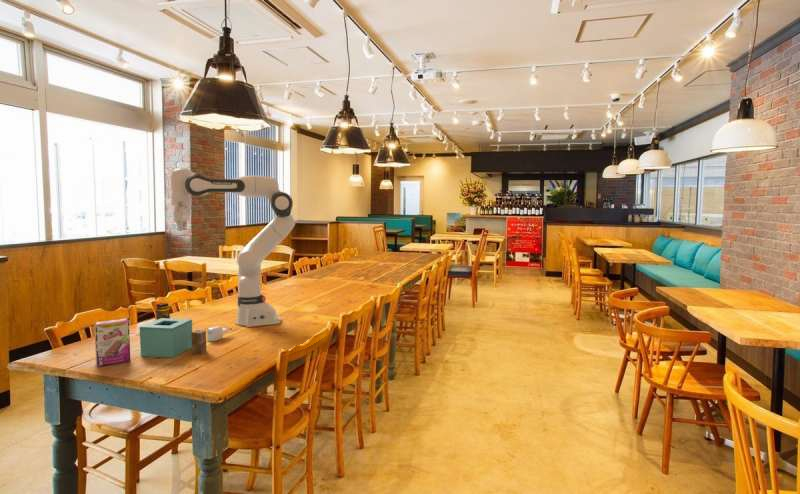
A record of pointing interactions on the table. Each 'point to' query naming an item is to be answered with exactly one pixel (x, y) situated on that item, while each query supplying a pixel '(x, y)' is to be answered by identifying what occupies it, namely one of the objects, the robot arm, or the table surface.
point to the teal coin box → (166, 337)
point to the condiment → (162, 311)
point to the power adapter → (216, 333)
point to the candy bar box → (112, 342)
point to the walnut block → (198, 341)
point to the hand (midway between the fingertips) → (182, 230)
